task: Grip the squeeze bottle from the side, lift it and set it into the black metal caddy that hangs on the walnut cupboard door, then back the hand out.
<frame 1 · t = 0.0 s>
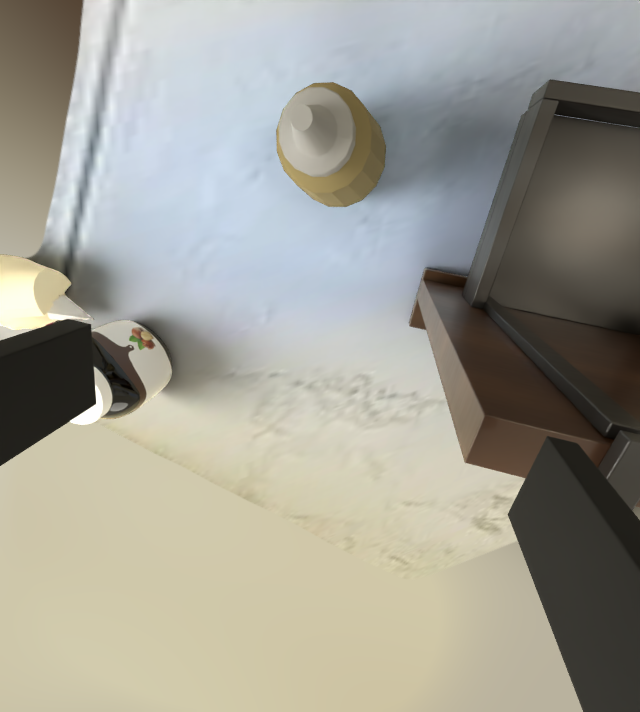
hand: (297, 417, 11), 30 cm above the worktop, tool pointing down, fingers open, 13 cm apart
door rack: (553, 249, 35), on the worktop
spread jar: (131, 353, 48), on the worktop
squeeze bottle: (344, 162, 35), on the worktop
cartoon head: (36, 287, 47), on the worktop
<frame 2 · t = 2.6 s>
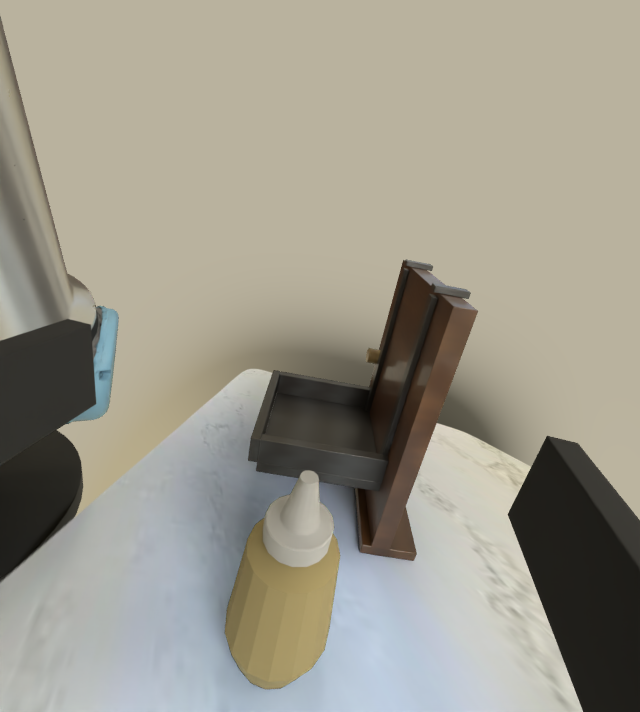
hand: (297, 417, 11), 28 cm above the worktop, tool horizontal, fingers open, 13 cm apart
door rack: (324, 475, 49), on the worktop
squeeze bottle: (271, 648, 30), on the worktop
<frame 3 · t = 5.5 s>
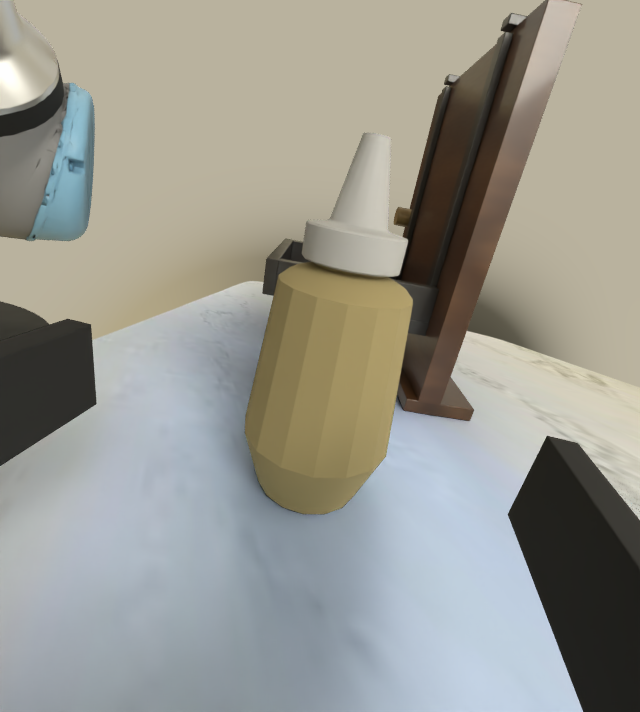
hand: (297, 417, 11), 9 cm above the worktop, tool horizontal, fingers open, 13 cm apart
door rack: (349, 353, 42), on the worktop
squeeze bottle: (306, 480, 22), on the worktop
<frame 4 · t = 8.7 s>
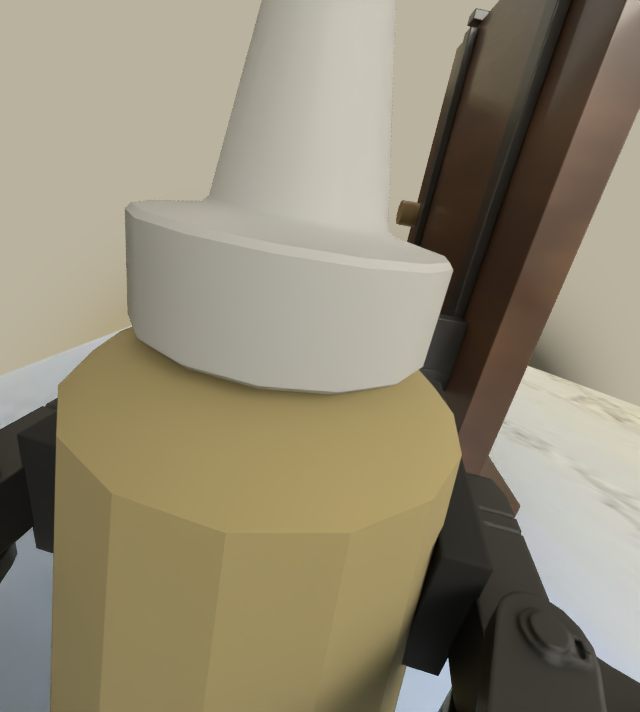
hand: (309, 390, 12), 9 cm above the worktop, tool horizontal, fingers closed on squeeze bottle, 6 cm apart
door rack: (336, 398, 31), on the worktop
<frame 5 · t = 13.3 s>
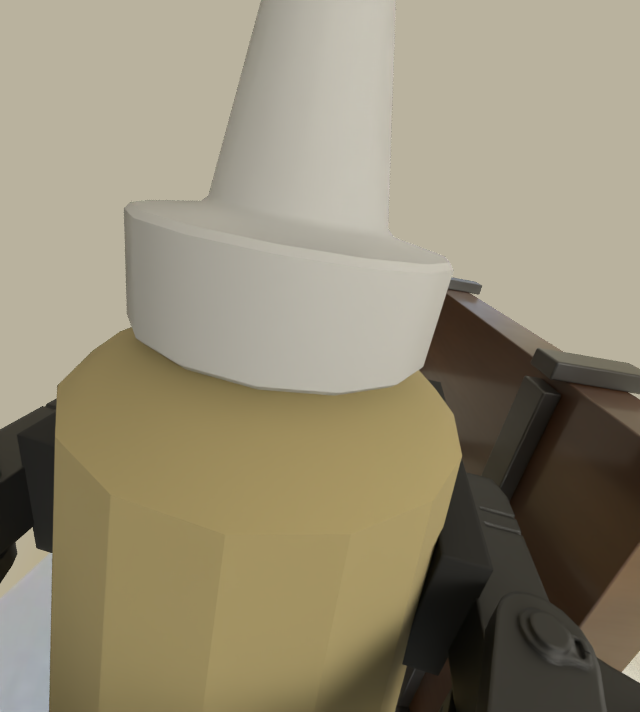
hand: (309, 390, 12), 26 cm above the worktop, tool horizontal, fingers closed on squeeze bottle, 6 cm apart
door rack: (289, 654, 28), on the worktop
when the fingers open (16 cm above the worktop, at t = 18.0 s): squeeze bottle stays where it is, resting on door rack.
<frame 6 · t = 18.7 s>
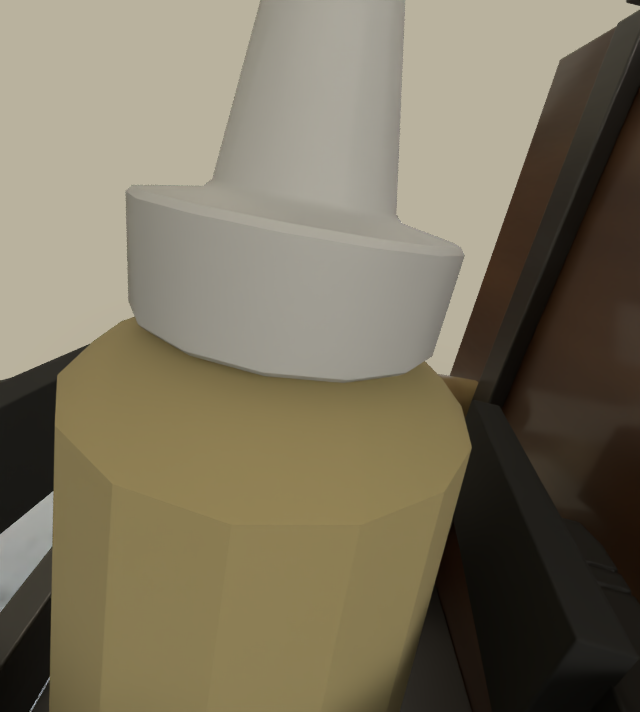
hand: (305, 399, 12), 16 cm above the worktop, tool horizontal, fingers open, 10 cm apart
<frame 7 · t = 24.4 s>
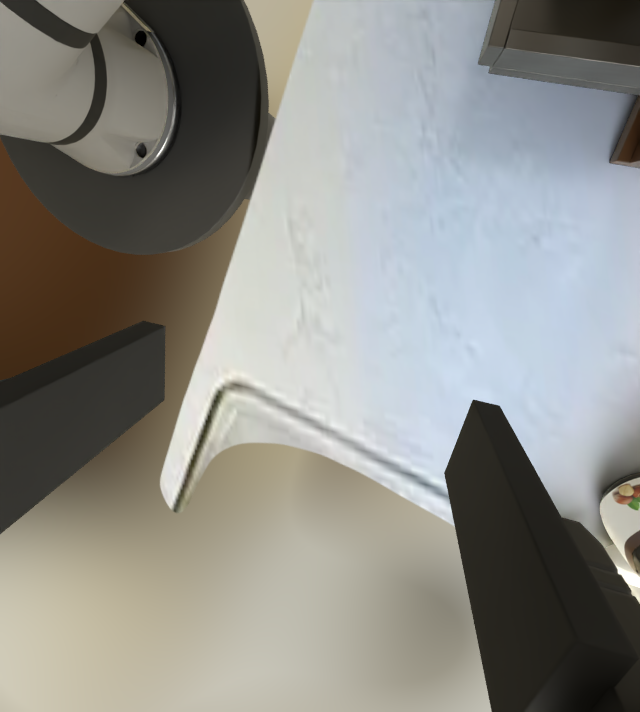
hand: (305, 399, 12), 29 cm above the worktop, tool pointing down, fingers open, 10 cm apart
spread jar: (637, 511, 42), on the worktop
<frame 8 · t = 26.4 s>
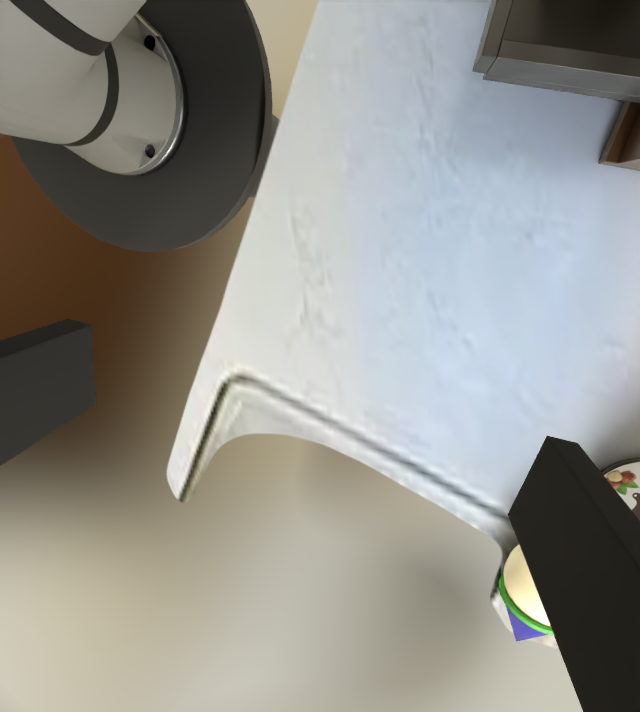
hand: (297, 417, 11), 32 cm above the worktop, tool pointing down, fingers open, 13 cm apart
door rack: (609, 0, 29), on the worktop
spread jar: (626, 497, 44), on the worktop
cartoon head: (531, 558, 50), on the worktop
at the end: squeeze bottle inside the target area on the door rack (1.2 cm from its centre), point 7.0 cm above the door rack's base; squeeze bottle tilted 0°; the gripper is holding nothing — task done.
